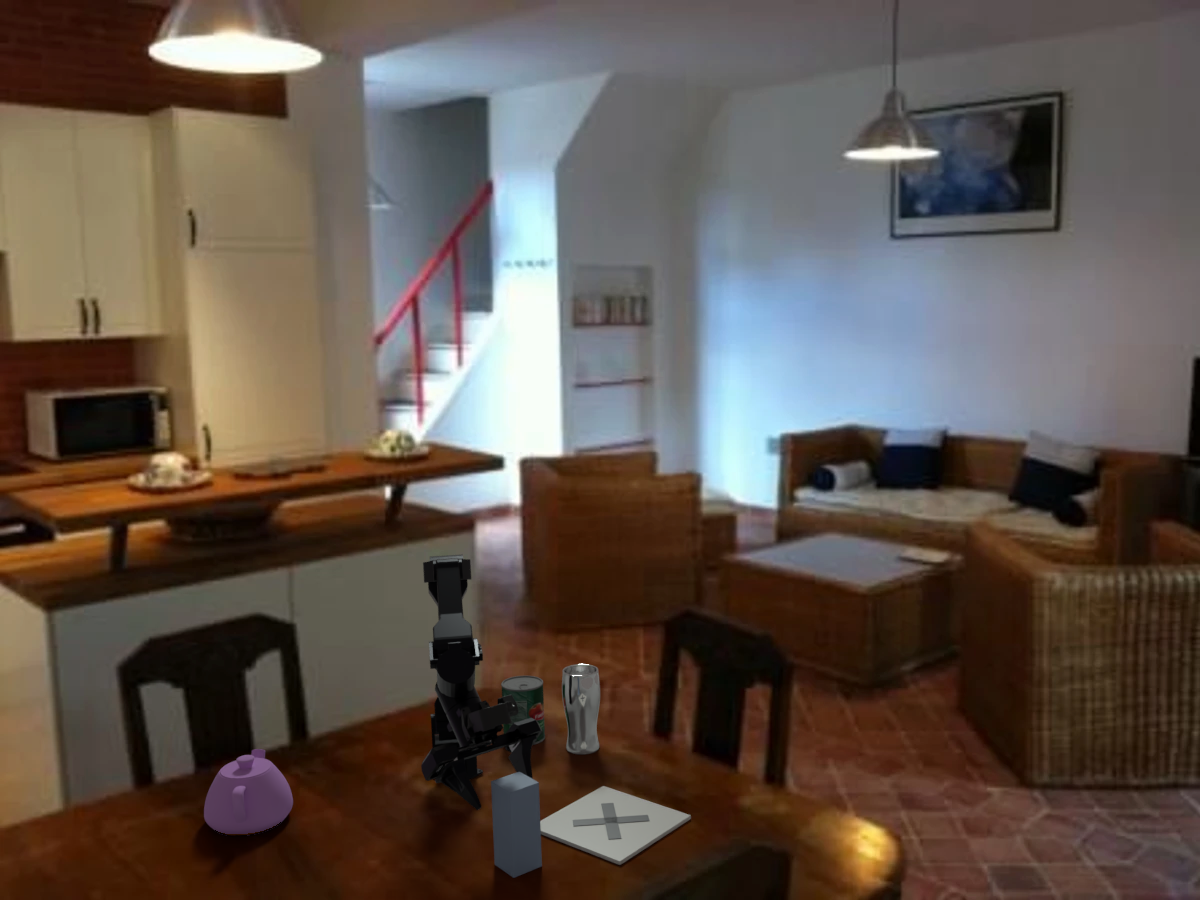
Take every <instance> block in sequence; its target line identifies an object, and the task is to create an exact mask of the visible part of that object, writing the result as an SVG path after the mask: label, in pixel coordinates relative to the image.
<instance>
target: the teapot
mask: <svg viewBox="0 0 1200 900" xmlns="http://www.w3.org/2000/svg"><path fill="white" fill-rule="evenodd" d="M235 759H236V760H232V761H231V762H229V763H227V764H225V765H224V766H223V767H221V768H220V770H219V771H218V772H217V773H216V775H215V777H214V779H213V781H212V783H211V785H210V786H209V789H208V792H207V793H206V797H205V801H204V808H203V818H204V821H205V822H206V824H207V825H208V826H209V827H210V828H211V829H212V830H214V831H215V830H216V831H218V832H221V833H225V834H248V833H255V832H260V831H264V830H266V829H269V828H272V827H273V826H276V825H277V824H279V823H280V822H281V823H282V822H283V821H284V820H285V819H287V817H288V815H289V814H290V812H291V811H292V808H293V805H294V798H293V794H292V789H291V787H290V784H289V783H288V781H287V779H286V777H285V776H284V774H283V773H282V772H281V771H280V770H279V768H278V767H277V766H276V765H275V764H274V763H273V762H272V761H271V760H270V759H267V758H266V750H265V749H262V748H261V749H260V748H255V749H251V754H244V755H241V756H238V757H237V758H235ZM281 823H280V824H281ZM280 824H279V825H280ZM277 826H278V825H277ZM277 826H276V827H277ZM272 829H273V828H272ZM216 831H215V832H216ZM218 832H217V833H218Z"/></svg>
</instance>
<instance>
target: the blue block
mask: <svg viewBox="0 0 1200 900" xmlns="http://www.w3.org/2000/svg"><path fill="white" fill-rule="evenodd" d="M490 788H491V809H492V830H493V833H492V834H493V835H492V836H493V855H494V856H493V860H494V866H495V867H497V868H499V869H500V870H502V871H503V872H505V873H506V874H508V875H509V876H510V877H512V878H517V877H519V876H521V875H524V874H526V873H529V872H532V871H534V870H537V869H538V868H541V867H543V861H542V860H543V859H542V856H543V855H542V834H541V828H540V821H541V808H540V804H541V803H540V783H539V781H537V780H536V779H534V778H533V779H532V778H530V777H528V776H526V775H525V774H523V773H521V772H514V773H511V774H508V775H505V776H503V777H499V778H496V779H494V780H493V779H492V780H491V781H490Z"/></svg>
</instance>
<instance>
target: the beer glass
mask: <svg viewBox="0 0 1200 900" xmlns="http://www.w3.org/2000/svg"><path fill="white" fill-rule="evenodd" d="M561 677H562V679H561V681H562V682H561V695H562V705H563V711H564V715H565V719H566V724H567V738H566V739H567V740H566V746H565V748H566V750H567V752H568V753H570V754H573V755H574V754H575V755H589V754H590V755H591V754H594V753H596V752H597V751H598V750H599V748H600V742H599V738H598V731H597V730H598V729H597V727H598V726H597V725H598V719H599V718H598V717H599V712H600V711H599V710H600V704H601V703H600V702H601V685H600V684H601V683H600V675H599V668H598V667H597V666H595V665H592V664H586V663H578V664H577V663H576V664H571V665H567V666H565V667H564V668H563V669H562V676H561Z"/></svg>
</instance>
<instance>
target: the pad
mask: <svg viewBox="0 0 1200 900" xmlns="http://www.w3.org/2000/svg"><path fill="white" fill-rule="evenodd" d="M691 819H692V816H691V814H689V813H688V814H687V813H685V812H683V811H680V810H677V809H673V808H671V807H667V806H664V805H661V804H659V803H655V802H652V801H649V800H648V799H647V800H646V799H643V798H642V797H641V798H640V797H638V796H635V795H633V794H629V793H626V792H623V791H619V790H617V789H614V788H611V787H609V786H605V785H602V786H600V787H598V788H597V789H595V790H594V791H592V792H590V793H588V794H586V795H584V796H583V797H580V798H579V799H577V800H575V801H574V802H572V803H570V804H568V805H566V806H565V807H563V808H561V809H558V811H555V812H554V813H552V814H550V815H548V816H547V817H544V818H543V819H540V828H541V836H544V837H547V838H549V839H553V840H555V841H557V842H560V843H563V844H565V845H567V846H570V847H571V848H572V847H573V848H575V849H578V850H579V851H580V850H581V851H583V852H586V853H589V854H591V855H593V856H595V857H598V858H601V859H603V860H606V861H608V862H611V863H612V864H615V865H619V866H621V865H622V864H624V863H626V862H627V861H629V860H630V859H632V858H634V857H635V856H636V855H638V854H640V853H641V852H643V851H644V850H645V849H647V848H649V847H650V846H652V845H653V844H654V843H656V842H657V841H660V840H661V839H662V838H664V837H665V836H667V835H668V834H670V833H672V832H673V831H675V830H676V829H678V828H679V827H681V826H682V825H684V824H685V823H687V822H689V821H690V820H691Z"/></svg>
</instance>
